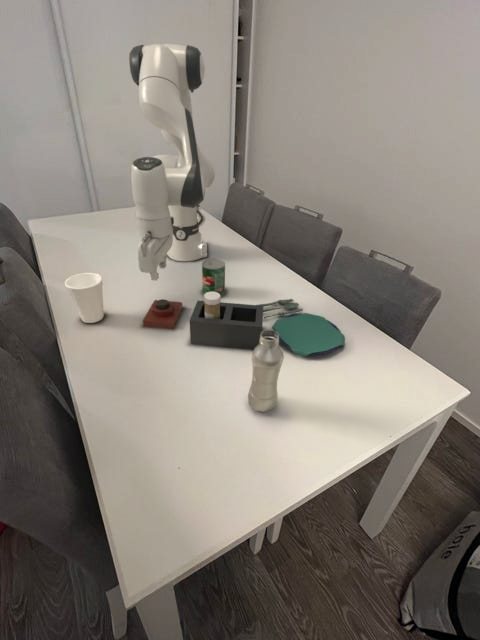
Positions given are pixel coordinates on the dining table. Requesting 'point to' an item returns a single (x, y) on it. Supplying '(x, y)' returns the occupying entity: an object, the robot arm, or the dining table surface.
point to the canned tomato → (213, 276)
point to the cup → (87, 295)
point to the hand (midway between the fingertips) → (159, 273)
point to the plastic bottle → (265, 371)
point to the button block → (163, 315)
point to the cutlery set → (305, 331)
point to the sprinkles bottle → (212, 305)
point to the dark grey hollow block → (227, 326)
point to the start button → (162, 304)
